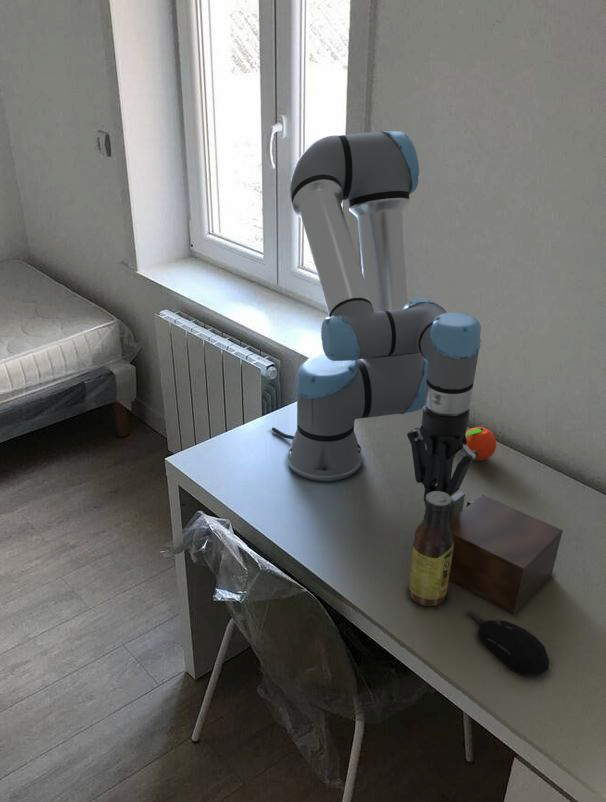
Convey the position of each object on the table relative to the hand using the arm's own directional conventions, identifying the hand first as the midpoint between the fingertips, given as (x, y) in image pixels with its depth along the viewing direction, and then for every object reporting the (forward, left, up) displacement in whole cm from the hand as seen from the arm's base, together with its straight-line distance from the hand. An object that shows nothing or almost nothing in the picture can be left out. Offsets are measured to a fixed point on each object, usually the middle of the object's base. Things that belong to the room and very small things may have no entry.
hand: (432, 518), depth 143 cm
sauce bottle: (+11, -14, -3) cm, 18 cm away
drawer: (+9, -2, -2) cm, 10 cm away
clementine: (-9, +25, -3) cm, 27 cm away
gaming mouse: (+26, -13, -3) cm, 29 cm away
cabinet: (+15, -1, -3) cm, 15 cm away
